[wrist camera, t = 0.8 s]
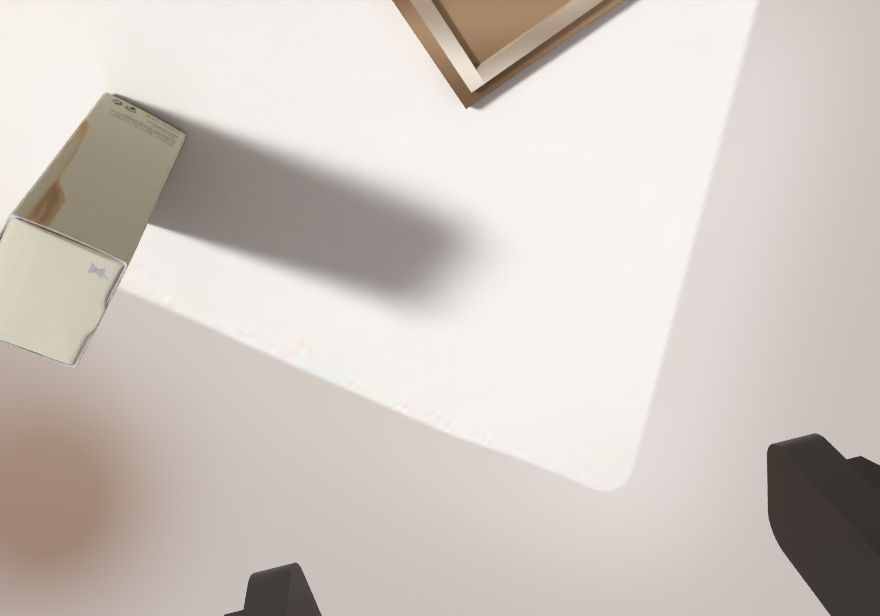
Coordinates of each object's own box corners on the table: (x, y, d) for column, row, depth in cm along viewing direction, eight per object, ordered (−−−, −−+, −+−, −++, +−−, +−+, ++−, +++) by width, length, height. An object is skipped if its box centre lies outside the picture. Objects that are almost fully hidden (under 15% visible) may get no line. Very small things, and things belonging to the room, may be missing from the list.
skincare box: (104, 87, 34) (8, 203, 24) (190, 133, 36) (134, 258, 26) (59, 190, 37) (-43, 332, 27) (141, 227, 39) (74, 373, 29)
